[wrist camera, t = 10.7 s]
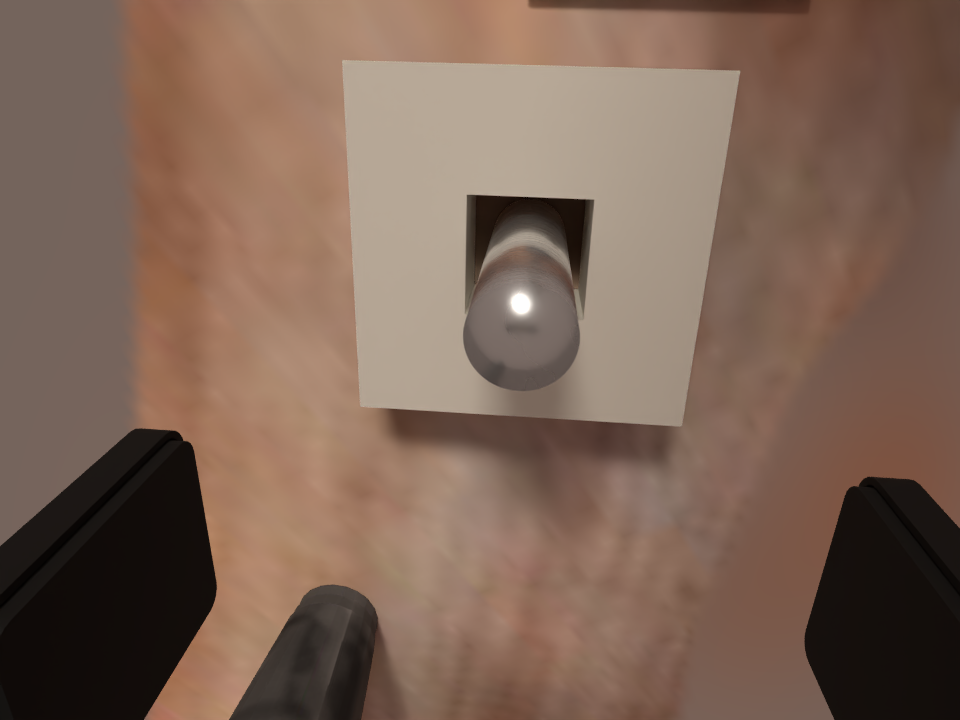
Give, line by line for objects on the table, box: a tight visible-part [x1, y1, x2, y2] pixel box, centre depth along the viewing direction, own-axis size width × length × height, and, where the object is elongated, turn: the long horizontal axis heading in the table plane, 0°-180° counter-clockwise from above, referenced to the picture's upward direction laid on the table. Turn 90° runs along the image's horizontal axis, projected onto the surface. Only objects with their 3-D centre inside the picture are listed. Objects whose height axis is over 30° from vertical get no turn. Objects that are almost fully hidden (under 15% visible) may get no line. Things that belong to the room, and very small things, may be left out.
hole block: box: [342, 60, 740, 427], centre depth 26 cm, size 13×13×4 cm
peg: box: [463, 199, 580, 391], centre depth 23 cm, size 3×3×12 cm
